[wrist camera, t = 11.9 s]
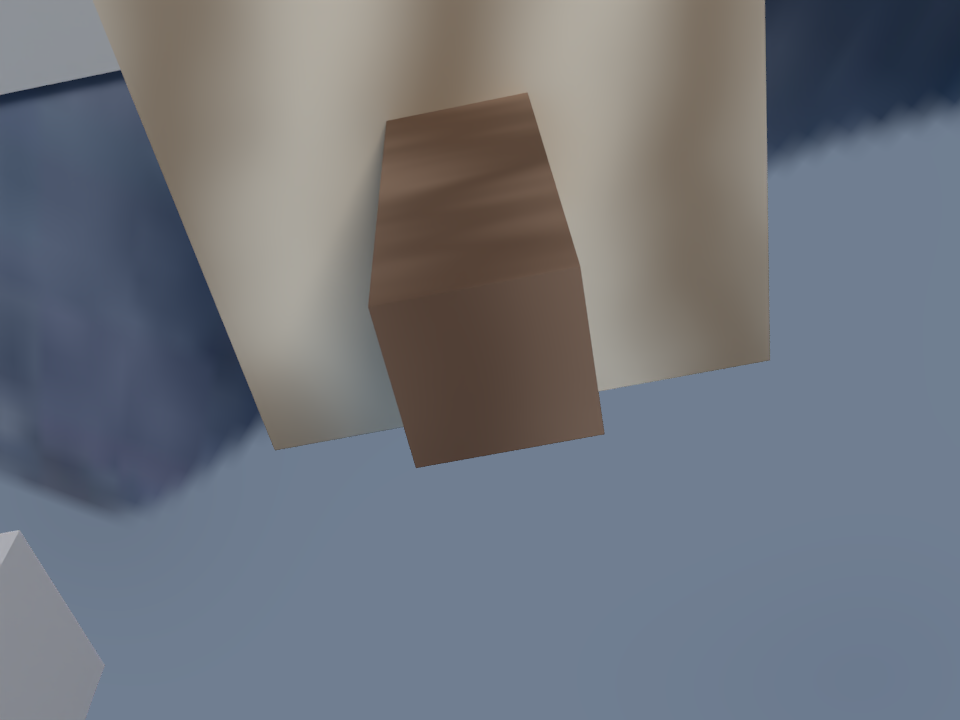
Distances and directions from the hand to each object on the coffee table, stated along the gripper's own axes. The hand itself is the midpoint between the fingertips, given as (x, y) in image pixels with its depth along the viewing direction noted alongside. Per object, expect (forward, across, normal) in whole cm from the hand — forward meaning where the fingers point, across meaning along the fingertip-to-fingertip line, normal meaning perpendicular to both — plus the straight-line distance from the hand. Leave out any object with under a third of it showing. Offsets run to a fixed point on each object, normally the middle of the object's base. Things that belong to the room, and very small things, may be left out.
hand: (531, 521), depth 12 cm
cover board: (+14, 0, 0) cm, 14 cm away
